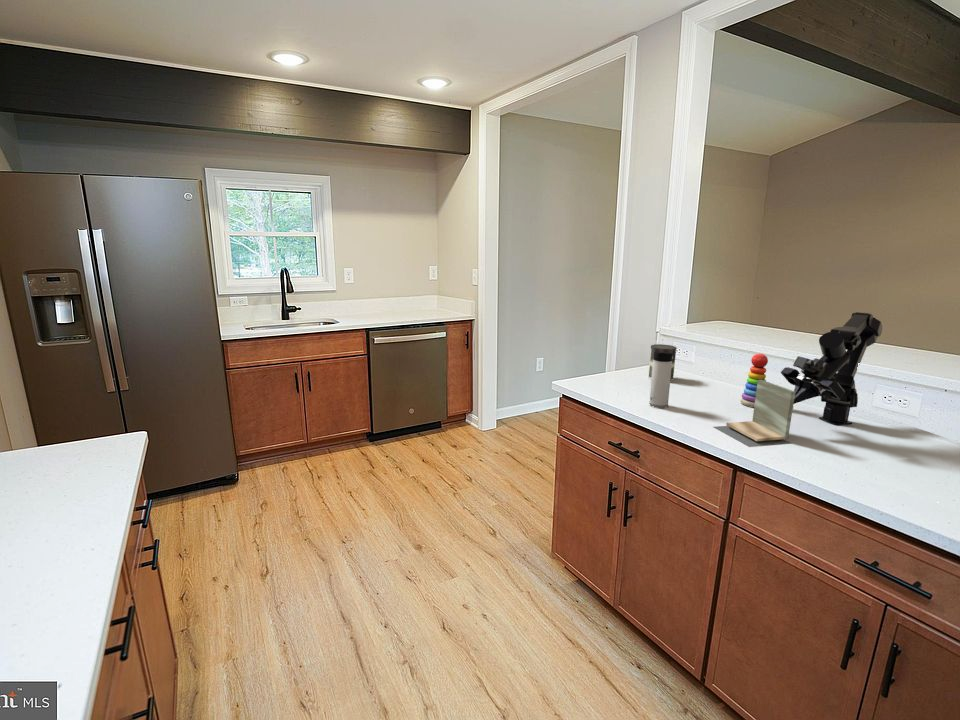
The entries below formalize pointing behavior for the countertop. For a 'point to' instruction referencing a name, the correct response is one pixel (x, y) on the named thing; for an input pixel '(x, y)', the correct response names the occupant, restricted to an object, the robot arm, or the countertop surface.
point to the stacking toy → (754, 379)
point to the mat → (748, 438)
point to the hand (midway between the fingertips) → (791, 402)
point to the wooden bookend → (768, 413)
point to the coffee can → (662, 349)
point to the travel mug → (660, 379)
